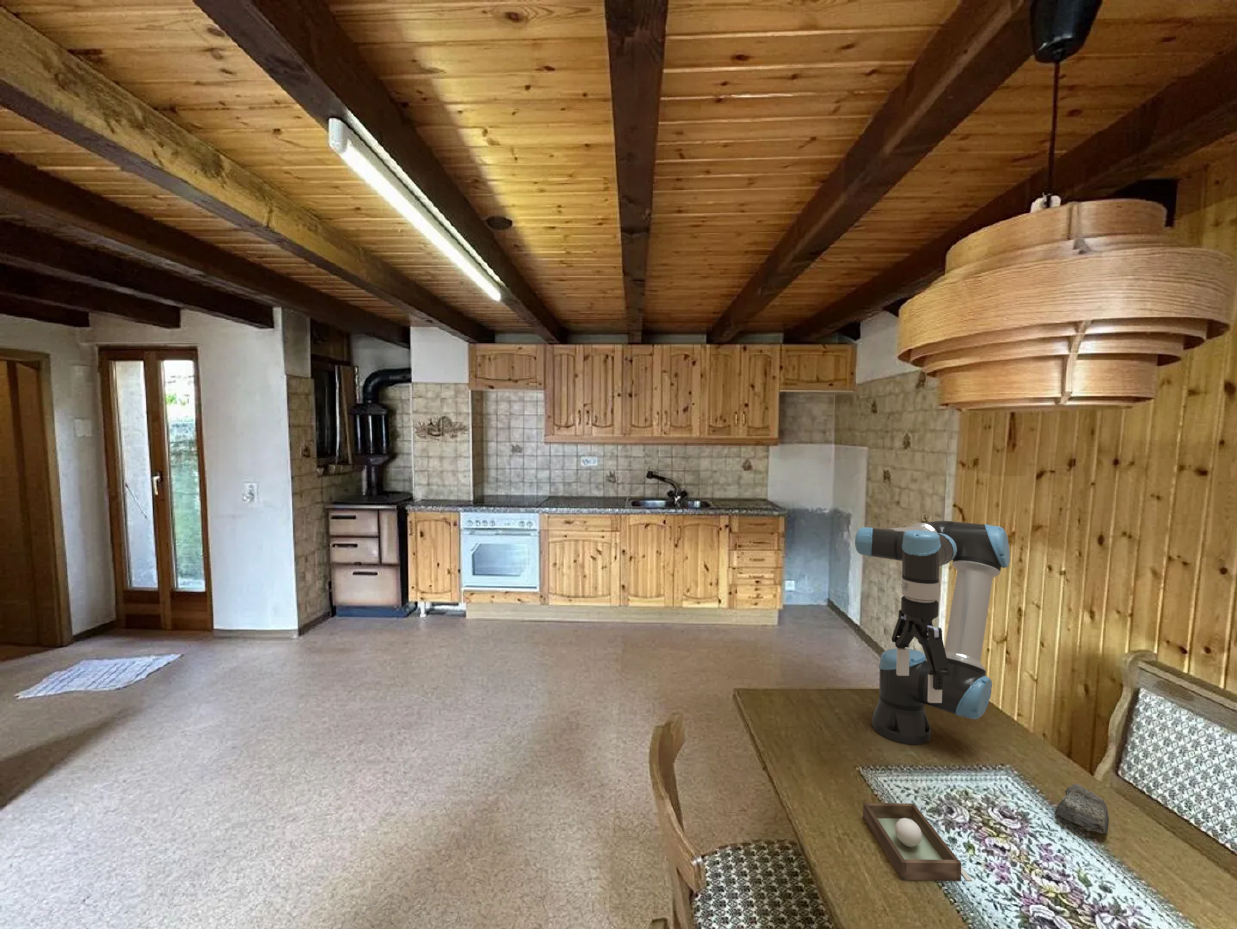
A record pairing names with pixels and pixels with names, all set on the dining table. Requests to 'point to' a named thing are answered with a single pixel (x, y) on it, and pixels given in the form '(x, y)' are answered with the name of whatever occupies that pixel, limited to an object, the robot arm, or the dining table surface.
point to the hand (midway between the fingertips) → (917, 688)
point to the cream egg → (908, 832)
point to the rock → (1083, 809)
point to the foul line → (965, 875)
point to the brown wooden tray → (911, 862)
